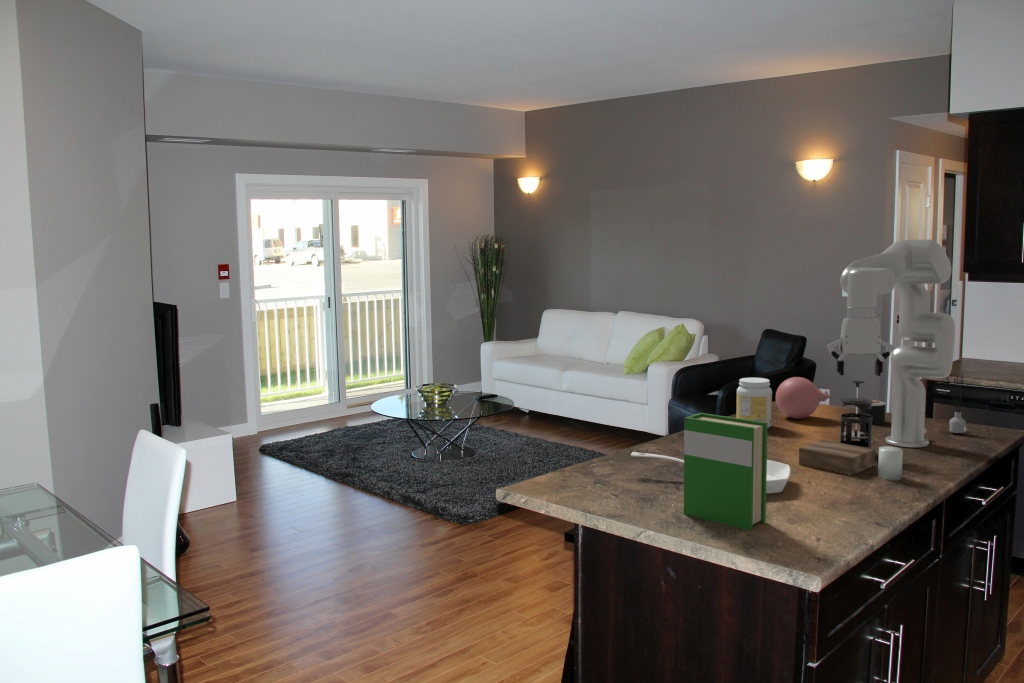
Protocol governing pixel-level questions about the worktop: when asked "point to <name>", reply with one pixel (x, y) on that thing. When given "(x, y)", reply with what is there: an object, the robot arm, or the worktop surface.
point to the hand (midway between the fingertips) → (859, 375)
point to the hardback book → (725, 469)
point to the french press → (857, 421)
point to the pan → (774, 479)
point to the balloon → (799, 397)
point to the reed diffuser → (957, 414)
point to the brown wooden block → (837, 457)
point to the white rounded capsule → (890, 463)
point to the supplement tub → (754, 400)
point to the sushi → (876, 412)
